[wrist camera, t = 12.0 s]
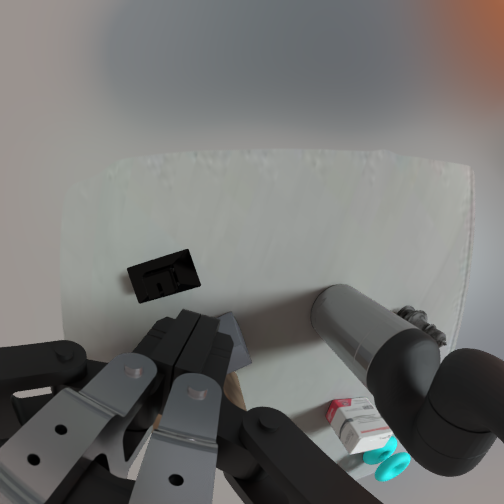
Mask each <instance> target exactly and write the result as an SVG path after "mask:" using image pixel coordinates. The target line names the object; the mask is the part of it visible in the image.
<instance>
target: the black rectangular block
mask: <svg viewBox="0 0 504 504" xmlns="http://www.w3.org/2000/svg"><path fill="white" fill-rule="evenodd" d="M127 271H128V274H129V277H130V280H131V283H132V286H133V288H134V291H135V294H136V297H137V300H138V302H139V303H144V302H147V301H151V300H154V299H158V298H162V297H165V296H169V295H172V294H176V293H179V292H182V291H186V290H189V289H193V288H196V287H200V286H201V283H200V281H199V278H198V275H197V272H196V269H195V266H194V263H193V261H192V258H191V255H190V252H189V249H185V250H182V251H179V252H176V253H173V254H169V255H166V256H163V257H160V258H157V259H154V260H150V261H147V262H144V263H141V264H138V265H135V266H132V267H129V268H127Z"/></svg>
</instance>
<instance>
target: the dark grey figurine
mask: <svg viewBox="0 0 504 504" xmlns="http://www.w3.org/2000/svg"><path fill="white" fill-rule="evenodd" d="M397 315H398V316H399V317H401V318H403V319H404V320H406V321H408V322H409V323H411V324H412V325H414V326H416V327H417V328H419V329H420V330H422V331H424V332H425V333H427V334H428V335H430V336H431V337H432V338H433V339H434V340H435V341H436V342H437V344H438V346H439V348H440V347H442V346H443V345H444V346H445V345H447V344H446V342H445V341H446V336H445V334H444V333H443V332H441V331H439V330H438V329H436V326H435V325H434V324H431V325H430V324H428V323H427V314H426V313H425V312H424V311H421V310H420V311H415V309H414V308H413V307H412V306H405V307H404V308H402V309H401V310H400V311H399V313H398V314H397Z"/></svg>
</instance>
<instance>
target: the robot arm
mask: <svg viewBox="0 0 504 504" xmlns="http://www.w3.org/2000/svg"><path fill="white" fill-rule="evenodd" d="M311 322H312V325H313V328H314V329H315V331H316V332H317V333H318V334H319V335H320V336H321V337H322V339H323V340H324V341H325V342H326V343H327V344H328V345H329V347H330V348H331V349H332V350H333V351H334V352H335V353H336V354H337V356H338V357H339V358H340V359H341V360H342V361H343V362H344V363H345V365H346V366H347V367H348V368H349V369H350V370H351V371H352V372H353V373H354V375H355V376H356V377H357V378H358V379H359V380H360V381H361V382H362V383H363V385H364V386H365V387H366V388H367V389H368V390H369V391H370V393H371V394H372V395H373V396H374V400H375V405H376V408H377V410H378V412H379V414H380V415H381V417H382V418H383V420H384V421H385V422H386V424H387V425H388V426H389V428H390V429H391V430H392V432H393V433H394V434H395V436H396V437H397V439H398V440H399V441H400V443H401V444H402V445H403V447H404V448H405V449H406V451H407V452H408V453H409V454H410V455H411V456H412V457H413V458H414V460H415V461H416V462H418V463H419V464H420V465H421V466H423V467H424V468H425V469H427V470H429V471H430V472H432V473H435V474H437V475H441V476H446V477H453V476H460V475H463V474H465V473H467V472H469V471H470V470H472V469H473V468H474V467H475V466H476V465H477V464H478V463H479V462H480V461H481V460H482V458H483V457H484V456H485V454H486V453H487V452H488V450H489V449H490V447H491V446H492V444H493V443H494V441H495V440H496V438H497V437H498V438H499V439H500V440H501V441H502V442H503V443H504V361H503V360H501V359H499V358H497V357H496V356H494V355H491V354H489V353H487V352H484V351H481V350H477V349H469V348H462V349H457V350H455V351H453V352H451V353H450V354H448V355H447V356H446V357H445V358H444V360H443V361H442V363H441V364H440V350H439V346H438V344H437V342H436V341H435V340H434V339H433V338H432V337H431V336H430V335H428V334H427V333H425V332H424V331H422V330H420V329H419V328H417V327H416V326H414V325H412V324H411V323H409V322H408V321H406V320H404V319H403V318H401V317H399V316H398V315H396V314H395V313H393V312H391V311H390V310H388V309H387V308H385V307H383V306H382V305H380V304H379V303H377V302H375V301H374V300H372V299H370V298H369V297H367V296H366V295H364V294H362V293H361V292H359V291H358V290H356V289H354V288H353V287H351V286H348V285H343V284H340V285H334V286H332V287H329V288H328V289H326V290H325V291H324V292H322V293H321V294H320V295H319V297H318V298H317V299H316V301H315V303H314V305H313V307H312V311H311ZM219 326H220V319H217V318H213V317H210V316H206V315H202V316H201V314H199V313H196V312H192V311H189V310H185V309H183V310H182V311H181V312H180V314H179V315H178V317H177V318H176V319H173V318H169V317H165V318H163V319H161V320H158V321H157V322H156V323H155V324H154V326H153V327H152V329H150V331H149V332H148V333H147V335H146V336H145V337H144V338H143V339H142V341H141V342H140V343H139V344H138V346H137V347H136V348H135V349H134V351H133V352H132V353H123V354H120V355H118V356H116V357H115V358H114V359H112V360H111V361H110V362H109V363H104V362H98V361H93V360H88V359H87V356H86V351H85V350H84V348H83V347H82V346H81V345H79V344H77V343H75V342H72V341H67V340H59V341H53V342H44V343H37V344H28V345H20V346H11V347H1V348H0V504H212V498H213V488H214V479H215V470H216V468H218V469H220V470H222V471H223V473H224V476H225V478H226V480H227V481H228V482H229V484H230V485H231V486H232V488H233V489H234V491H235V492H236V493H237V494H238V496H239V497H240V498H241V500H242V501H243V502H244V503H245V504H383V503H382V502H381V501H379V500H378V499H377V498H376V497H374V496H373V495H372V494H371V493H370V492H368V491H367V490H366V489H365V488H364V487H362V486H361V485H360V484H359V483H358V482H356V481H355V480H354V479H353V478H352V477H351V476H350V475H348V474H347V473H346V472H345V471H344V470H343V469H342V468H341V467H339V466H338V465H337V464H336V463H335V462H334V461H333V460H332V459H331V458H330V457H328V456H327V455H326V454H325V453H324V452H323V451H322V450H321V449H320V448H319V447H318V446H317V445H316V444H315V443H314V442H313V441H312V440H311V439H310V438H309V437H308V436H306V435H305V434H304V433H303V432H302V431H301V430H300V429H299V428H298V427H297V426H296V425H295V424H294V423H293V422H292V421H291V420H290V418H289V417H287V416H286V415H285V414H284V413H282V412H281V411H279V410H276V409H274V408H270V407H256V408H252V409H250V410H249V411H246V410H244V409H241V408H239V407H238V406H236V405H234V404H233V403H232V402H231V401H230V400H229V399H228V398H227V397H226V395H225V393H224V389H223V387H224V382H225V378H226V374H227V370H228V366H229V362H230V358H231V354H232V350H233V346H234V342H233V340H232V338H231V335H228V334H224V333H221V332H218V330H219ZM44 387H51V391H52V393H51V394H45V395H40V396H33V397H27V398H17V397H15V396H14V395H13V393H15V392H18V391H25V390H31V389H38V388H44ZM158 414H160V415H162V417H161V420H160V423H159V426H158V429H154V430H153V424H154V422H155V420H156V418H157V416H158ZM152 430H153V432H152ZM151 432H152V435H151V437H150V440H149V443H148V446H147V449H146V452H145V455H144V458H143V461H142V464H141V467H140V470H139V473H138V476H137V479H136V481H135V480H129V479H127V475H128V472H129V469H130V467H131V465H132V464H133V462H134V460H135V459H136V457H137V455H138V454H139V452H140V450H141V449H142V447H143V445H144V444H145V442H146V440H147V439H148V437H149V435H150V434H151Z"/></svg>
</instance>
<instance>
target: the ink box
mask: <svg viewBox="0 0 504 504" xmlns="http://www.w3.org/2000/svg"><path fill="white" fill-rule="evenodd" d="M326 418H327V420H328V422H329V423H330V425H331V426H332V428H333V430H334V431H335V433H336V434H337V436H338V437H339V439H340V441H341V442H342V444H343V445H344V447H345V448H346V450H347V451H348V453H349V454H350V455H351V454H356V453H360V452H365V451H369V450H374V449H378V448H382V447H384V446H385V444H386V443H387V441H388V440H389V439H390V437H391V436H392V434H393V432H392V430H391V429H390V428H389V426H388V425H387V424H386V422H385V421H384V420H383V418H382V417H381V415H380V414H379V412H378V411H377V409H376V408H375V407H374V406H373V405H372V404H371V402H370V401H369V400H368V399H367V398H366V397H363V398H352V399H339V400H333V401H332V403H331V405H330V407H329V409H328V412H327V414H326Z"/></svg>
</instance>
